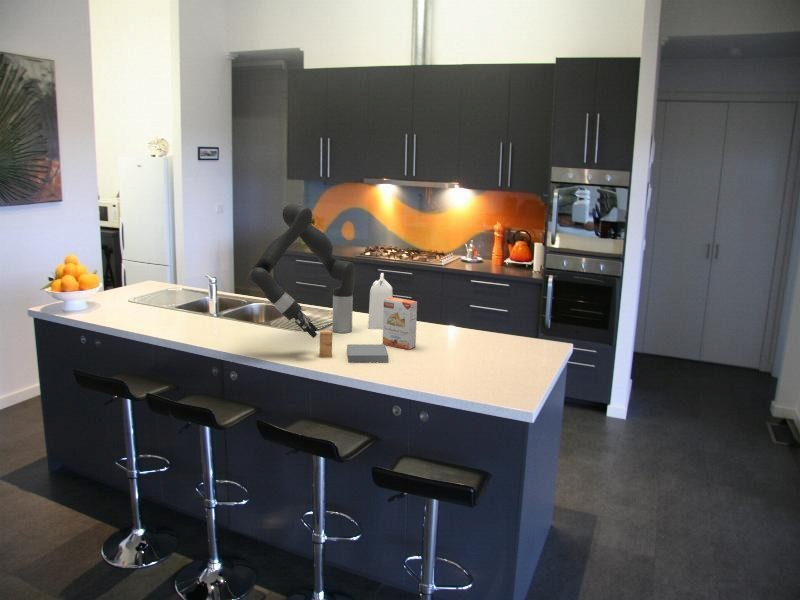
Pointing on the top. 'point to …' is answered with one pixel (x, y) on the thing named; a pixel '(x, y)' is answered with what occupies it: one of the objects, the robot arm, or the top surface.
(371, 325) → the milk
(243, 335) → the top surface
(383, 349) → the grey plinth
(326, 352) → the orange block
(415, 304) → the cracker box
